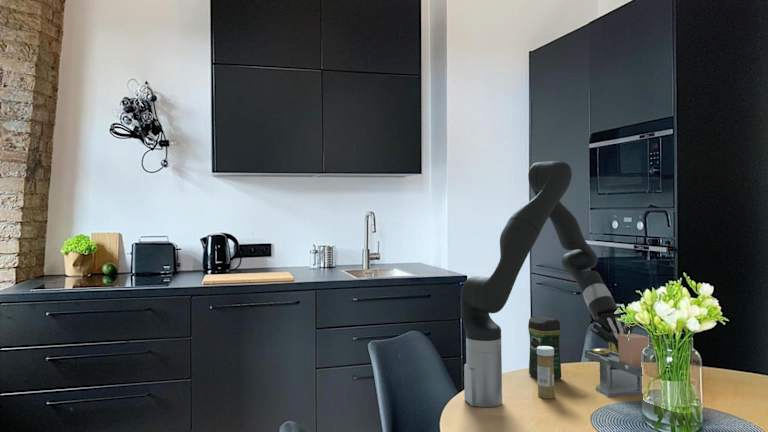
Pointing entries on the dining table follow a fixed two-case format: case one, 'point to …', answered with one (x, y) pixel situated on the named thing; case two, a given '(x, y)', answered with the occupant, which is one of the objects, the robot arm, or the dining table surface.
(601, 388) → the fulcrum
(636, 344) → the brown rectangular block
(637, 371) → the beam
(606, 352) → the brass weight
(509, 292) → the robot arm
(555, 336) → the coffee jar
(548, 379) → the sprinkles bottle
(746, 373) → the dining table surface
